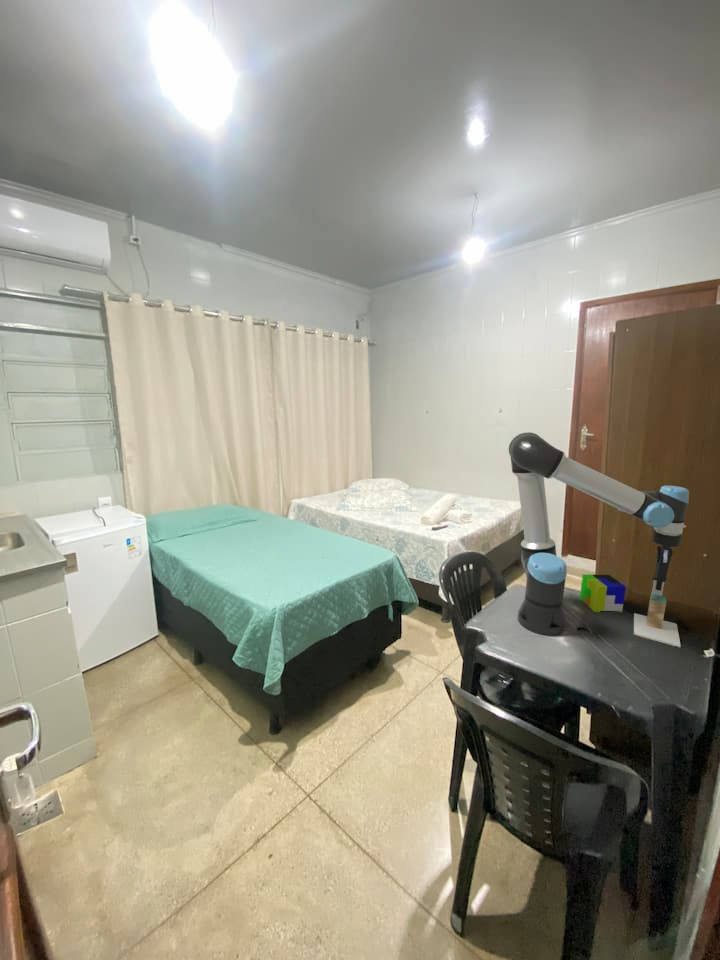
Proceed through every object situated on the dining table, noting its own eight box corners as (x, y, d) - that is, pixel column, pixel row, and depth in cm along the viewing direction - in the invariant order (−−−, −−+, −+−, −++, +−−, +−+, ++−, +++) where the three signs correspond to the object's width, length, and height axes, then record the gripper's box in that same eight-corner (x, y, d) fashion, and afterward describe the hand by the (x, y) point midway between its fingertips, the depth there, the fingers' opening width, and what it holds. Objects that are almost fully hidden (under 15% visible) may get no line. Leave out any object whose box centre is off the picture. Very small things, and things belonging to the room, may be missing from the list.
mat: (633, 634, 129) (634, 633, 129) (633, 614, 141) (634, 613, 141) (680, 647, 122) (680, 645, 122) (676, 625, 135) (676, 623, 134)
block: (646, 625, 133) (651, 598, 131) (646, 620, 137) (650, 593, 135) (661, 629, 131) (666, 601, 129) (660, 623, 134) (665, 596, 132)
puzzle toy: (622, 612, 143) (625, 586, 141) (594, 612, 143) (597, 586, 141) (605, 598, 153) (609, 574, 151) (579, 598, 153) (582, 574, 151)
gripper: (684, 540, 124) (671, 608, 129) (680, 529, 134) (668, 592, 139) (654, 535, 128) (643, 601, 133) (652, 525, 139) (642, 587, 143)
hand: (656, 597), depth 136 cm, fingers closed
